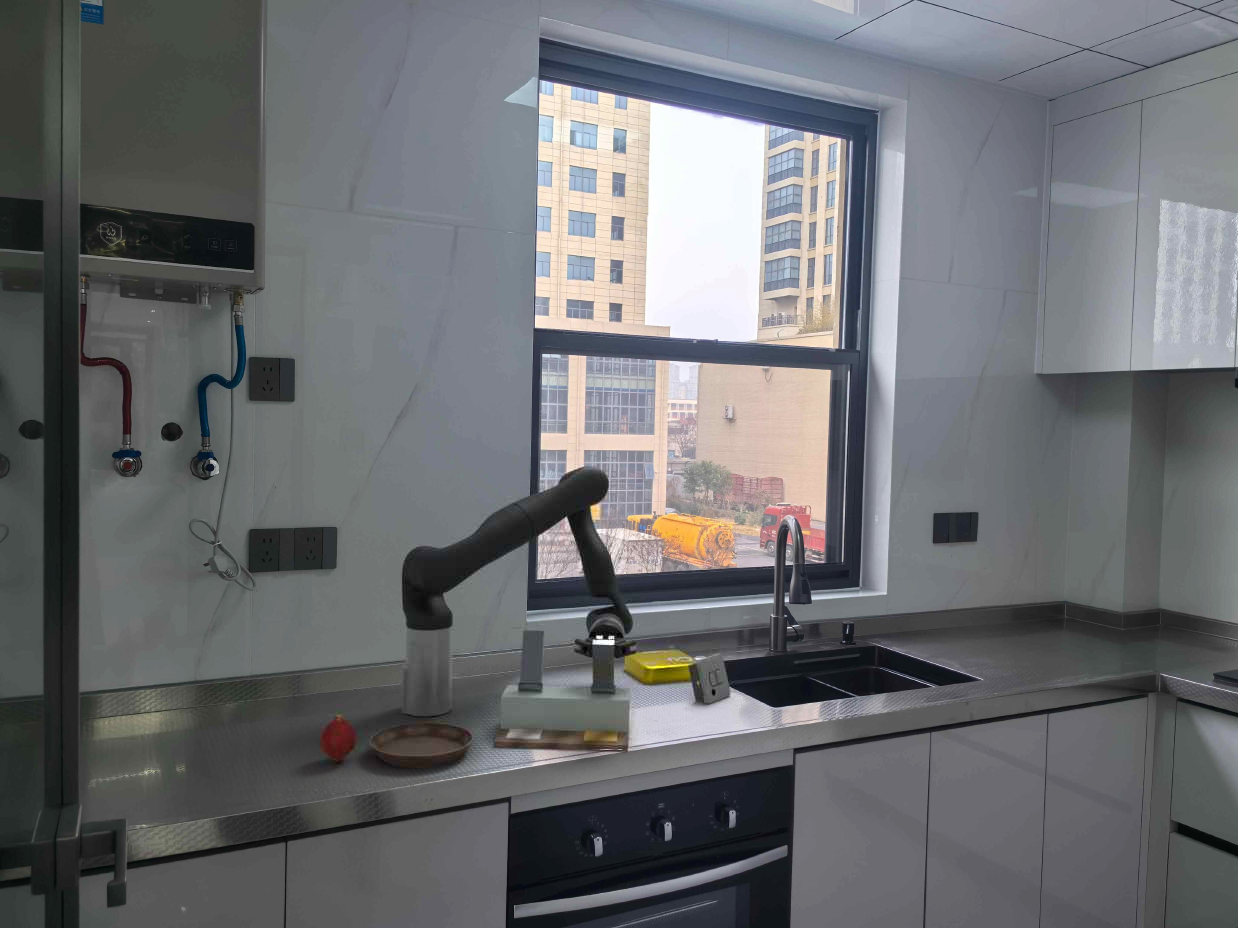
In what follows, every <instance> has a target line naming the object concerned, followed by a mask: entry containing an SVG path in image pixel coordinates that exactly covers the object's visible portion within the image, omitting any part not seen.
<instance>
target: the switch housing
mask: <svg viewBox="0 0 1238 928" xmlns="http://www.w3.org/2000/svg"><path fill="white" fill-rule="evenodd" d="M630 691H631V689H630V688H629V687H628V688H627V687H626V688H625V687H624V688H623V687H616V692H615V693H591V686H588V687H586V686H556V685H555V686H554V685H553V686H552V685H543V691H518V685H515V684H508V685H507V686H506V688H505V690H504V691H503V693H502V695H501V696H500V729H542V730H564V731H612V732H630V708H631V707H630V706H631V705H630V703H631V701H630V700H631V698H630V697H631V693H630Z"/></svg>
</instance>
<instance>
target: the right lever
mask: <svg viewBox="0 0 1238 928" xmlns="http://www.w3.org/2000/svg"><path fill="white" fill-rule="evenodd" d="M592 647H593V657H592V684H591V686H590V687H591V693H615V692H616V688H617V687H616V686H617V685H616V684H615V658H614V640H593V644H592Z"/></svg>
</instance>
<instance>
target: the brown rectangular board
mask: <svg viewBox="0 0 1238 928" xmlns="http://www.w3.org/2000/svg"><path fill="white" fill-rule="evenodd" d="M629 732H630V731H629ZM629 732H612V731H564V730H542V729H501V728H500V729H499V731H498V733H497V735H496V737H495V738H494V741H493V747H494V748H515V749H516V748H517V749H519V748H521V749H554V750H556V749H557V750H581V749H622V750H628V748H629V736H628V735H629V734H630V733H629Z"/></svg>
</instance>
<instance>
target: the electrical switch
mask: <svg viewBox="0 0 1238 928" xmlns="http://www.w3.org/2000/svg"><path fill="white" fill-rule="evenodd" d="M696 660H697V662H696V663H693V664H690V665H688V668H689V672H690V677H691V681H690V682H691V685H692V686H691V687H692V691H693V695H694V700H695V702H699V701H704V703H705V705H710V704H712V703H715V702H717V701H719V700H722V699H724V698H727V697H729V696H731V689H730V683H729V681H728V680H729V679H728V675H727V671H726V666H725V662H724V657H723V655H722V654H721V653H715V654H712V655H710V656H706V657H703V658H700V659H696ZM696 678H697V679H696Z"/></svg>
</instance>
